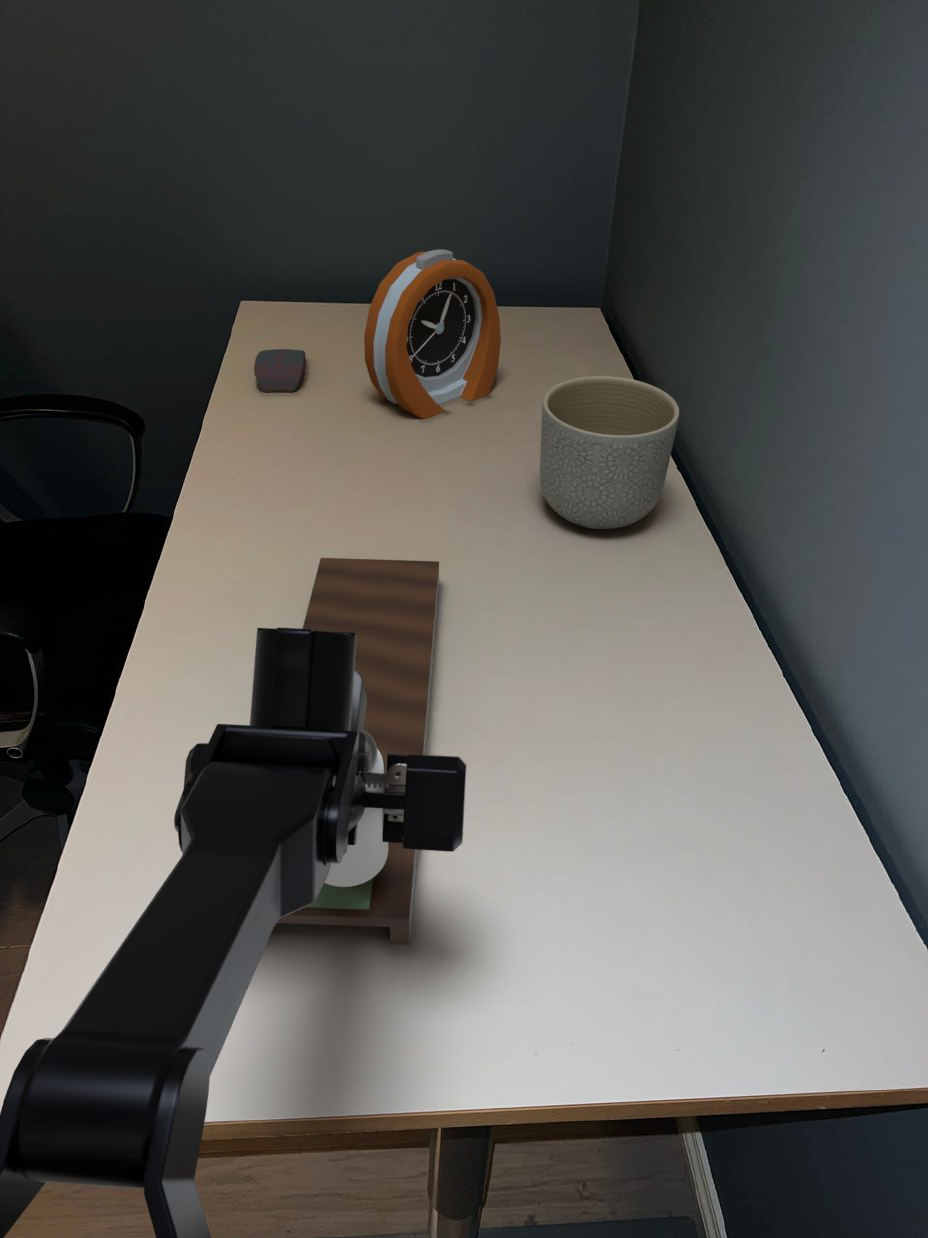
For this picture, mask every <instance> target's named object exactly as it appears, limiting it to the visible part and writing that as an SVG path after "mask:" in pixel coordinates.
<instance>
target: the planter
mask: <svg viewBox="0 0 928 1238" xmlns="http://www.w3.org/2000/svg"><path fill="white" fill-rule="evenodd" d="M679 418H680V407H679V405H678V404H677V402H676V400H675V399H674V398H673V397H672V396H671V395H670V394H669V393H667V392H665V391H664V390H662V389H661V388H659V387H658V386H657V387H656V386H655V385H653V384H650V383H647V382H643V381H641V380H638V379H637V380H636V379H632V378H627V377H621V376H611V375H590V376H589V375H588V376H582V377H581V376H580V377H575V378H571V379H567V380H564V381H562V382H559V383H557V384H555V385H554V386H552V387H551V388H549V389H548V390H547V392H546V393H545V394H544V396H543V399H542V407H541V427H540V452H539V453H540V454H539V482H540V483H539V484H540V488H541V492H542V495H543V498H544V499H545V501H546V502H547V504H548V505H549V506H550V508H551V509H552V510H553V511H554V512H555V513H557V514H558V515H559V516H561V517H562V518H563V519H565V520H566V521H568V522H570V523H572V524H575V525H577V526H580V527H584V528H588V529H594V530H614V529H619V528H624V527H627V526H630V525H632V524H634V523H636V522H638V521H640V520H642V519H643V518H645V517H646V516H647V515H648V514H649V513H651V511H652V510H653V509H654V508H655V506H656V505H657V504H658V502H659V500H660V498H661V497H662V492H663V489H664V486H665V482H666V479H667V473H668V470H669V465H670V461H671V460H670V459H671V455H672V451H673V448H674V442H675V438H676V433H677V429H678V424H679Z"/></svg>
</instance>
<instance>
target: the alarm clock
mask: <svg viewBox="0 0 928 1238" xmlns="http://www.w3.org/2000/svg"><path fill="white" fill-rule="evenodd" d="M381 280H382V281H380V282H379V285H378V287H377V290H376V292H375V295H374V296H373V299H372V302H371V304H370V306H369V308H368V312H367V313H368V314H367V319H366V325H365V329H364V335H363V341H364V342H363V343H364V362H365V366H366V370H367V373H368V376H369V379H370V382H371V383H372V385H373V387H374V388H375V390H376V391H377V393H378V394H379V396H381V397H382V398H384V399H385V400H387V401H389V402H391V403H392V404H394V405H396V404H397V405H398V406H399V407H400V408H402V409H403V410H405V411H406V412H408V413H410V414H412V415H414V416H415V417H417V418H419V419H423V420H424V419H425V420H426V419H429V418H432V417H435V416H437V415H440V414H442V413H445V412H446V410H445V409H444V408H443V407H442V406H441V405H440V404H443V403H445V402H448V401H451V400H454V399H457V398H459V397H461V399H464V400H466V401H468V402H473V401H475V400H479V399H481V398H483V397H487V396H489V395H490V392H491V390H492V388H493V386H494V383H495V378H496V374H497V371H498V368H499V362H500V351H501V343H502V342H501V341H502V338H501V322H500V321H501V320H500V313H499V310H498V305H497V301H496V295H495V292H494V290H493V288H492V286H491V284H490V283H489V281H488V279H487V277H486V275H485V274H484V271H483V272H482V271H481V270H480V269H478V268H476V267H475V266H473V265H472V264H471V263H469V262H468V261H465V260H462V259H456V258H455V257H454V253H453V252H452V251H450V250H448V249H432V250H428V251H417V252H416V253H414V254H412V255H410V256H408V257H406V258H403V260H400V261H398V262H396V264H395V265H394V266H393V267H392V268H391V270H390V271H389V272H388V273H387V275H385V277H384V278H383V279H381Z"/></svg>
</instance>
